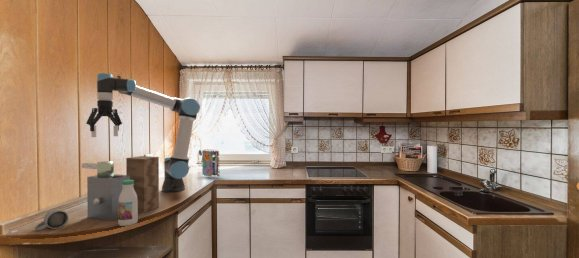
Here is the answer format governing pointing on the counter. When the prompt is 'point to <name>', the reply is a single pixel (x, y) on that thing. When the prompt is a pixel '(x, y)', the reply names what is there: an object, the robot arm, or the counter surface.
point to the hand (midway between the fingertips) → (105, 136)
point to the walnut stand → (145, 180)
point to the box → (210, 163)
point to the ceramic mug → (53, 220)
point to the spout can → (101, 168)
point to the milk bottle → (127, 204)
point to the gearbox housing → (104, 196)
